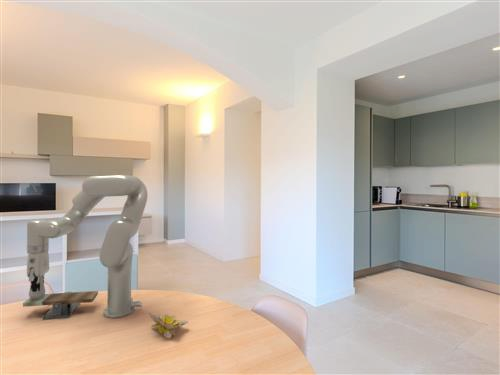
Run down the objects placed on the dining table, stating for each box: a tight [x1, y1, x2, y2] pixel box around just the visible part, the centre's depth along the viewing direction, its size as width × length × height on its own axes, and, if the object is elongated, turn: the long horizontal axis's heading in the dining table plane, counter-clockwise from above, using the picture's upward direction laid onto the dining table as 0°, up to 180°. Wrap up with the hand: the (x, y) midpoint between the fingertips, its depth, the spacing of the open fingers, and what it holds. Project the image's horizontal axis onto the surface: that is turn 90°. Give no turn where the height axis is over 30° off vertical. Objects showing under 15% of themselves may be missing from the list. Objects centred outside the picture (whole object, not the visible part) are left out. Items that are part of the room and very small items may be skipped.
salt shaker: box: [28, 275, 46, 300], centre depth 126 cm, size 6×6×13 cm
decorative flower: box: [148, 311, 189, 339], centre depth 113 cm, size 15×11×10 cm
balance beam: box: [22, 290, 99, 308], centre depth 129 cm, size 26×9×2 cm, turn 104°
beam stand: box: [41, 291, 81, 321], centre depth 129 cm, size 10×14×6 cm
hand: (37, 290), depth 126 cm, fingers closed on salt shaker, 3 cm apart
